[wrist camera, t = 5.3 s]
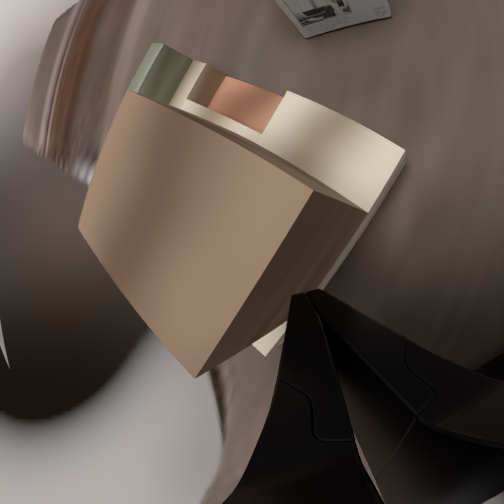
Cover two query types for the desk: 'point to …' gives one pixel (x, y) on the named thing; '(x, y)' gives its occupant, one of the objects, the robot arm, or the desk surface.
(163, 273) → the walnut block
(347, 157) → the trap deck
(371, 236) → the desk surface
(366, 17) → the light bulb box
